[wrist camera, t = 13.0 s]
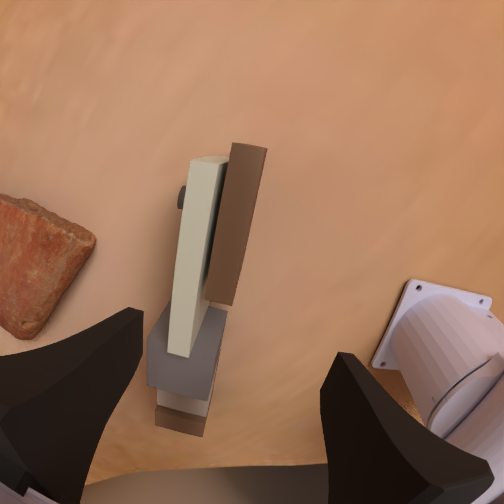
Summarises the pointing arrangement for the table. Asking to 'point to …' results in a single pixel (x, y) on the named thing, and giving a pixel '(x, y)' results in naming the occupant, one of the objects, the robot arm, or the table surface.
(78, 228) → the ceramic shard
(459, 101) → the table surface
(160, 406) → the door frame
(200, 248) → the cream bar
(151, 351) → the grey block
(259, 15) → the table surface
